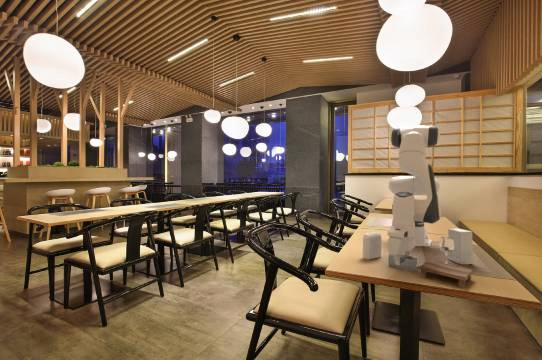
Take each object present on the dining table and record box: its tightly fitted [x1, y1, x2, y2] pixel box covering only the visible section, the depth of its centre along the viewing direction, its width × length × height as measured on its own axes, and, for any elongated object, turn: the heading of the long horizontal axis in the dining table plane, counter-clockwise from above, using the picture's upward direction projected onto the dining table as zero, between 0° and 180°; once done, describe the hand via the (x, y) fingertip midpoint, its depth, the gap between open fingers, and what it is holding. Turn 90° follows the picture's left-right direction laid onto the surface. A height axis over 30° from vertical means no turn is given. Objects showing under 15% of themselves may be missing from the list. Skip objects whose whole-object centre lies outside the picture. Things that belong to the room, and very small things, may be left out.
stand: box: [418, 259, 474, 289], centre depth 104 cm, size 12×15×4 cm
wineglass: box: [438, 236, 455, 265], centre depth 119 cm, size 6×6×12 cm
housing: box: [387, 253, 418, 273], centre depth 115 cm, size 4×10×6 cm, turn 43°
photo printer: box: [362, 231, 382, 260], centre depth 128 cm, size 10×4×12 cm, turn 123°
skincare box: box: [447, 228, 474, 265], centre depth 123 cm, size 8×6×15 cm
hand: (402, 262), depth 115 cm, fingers open, 8 cm apart
